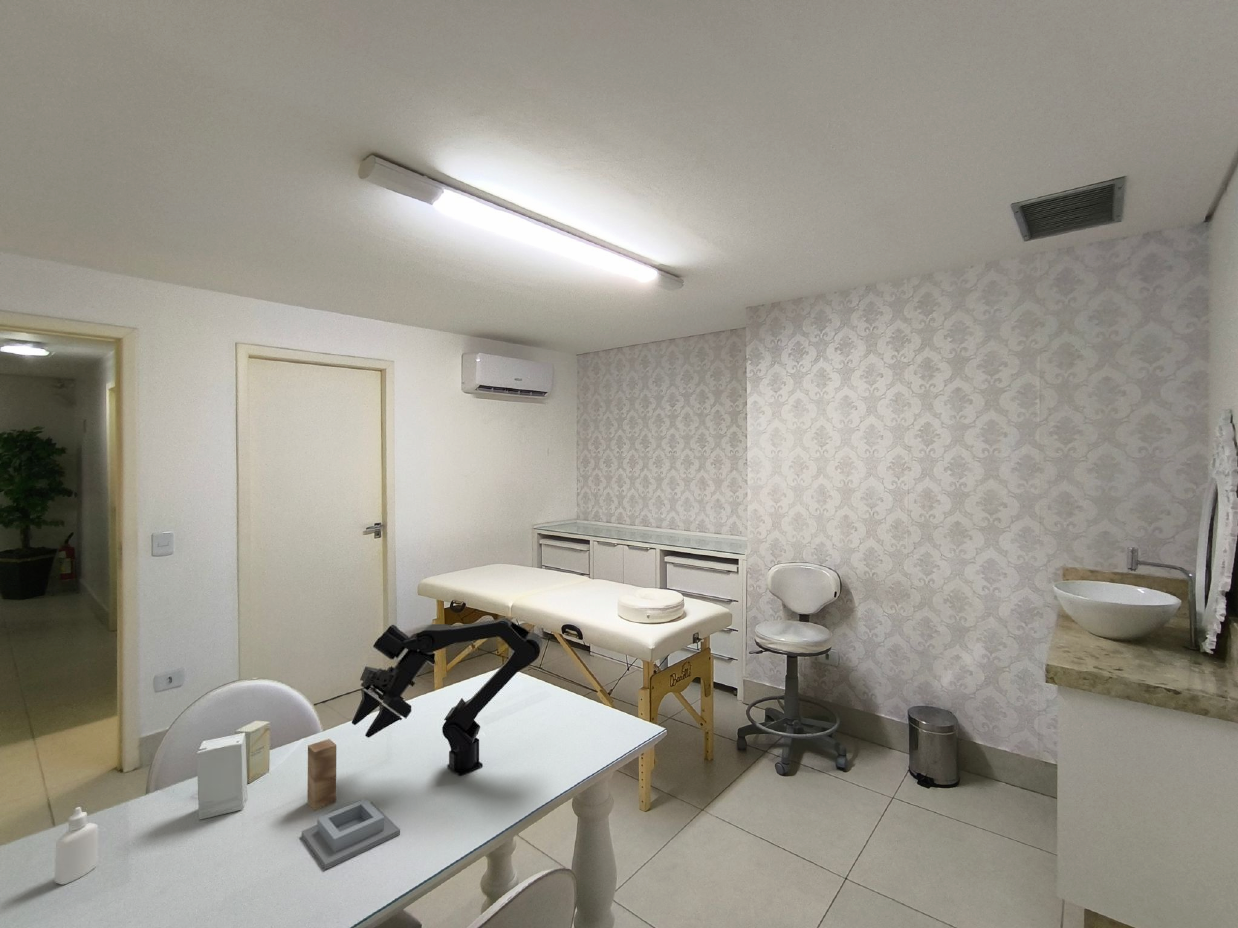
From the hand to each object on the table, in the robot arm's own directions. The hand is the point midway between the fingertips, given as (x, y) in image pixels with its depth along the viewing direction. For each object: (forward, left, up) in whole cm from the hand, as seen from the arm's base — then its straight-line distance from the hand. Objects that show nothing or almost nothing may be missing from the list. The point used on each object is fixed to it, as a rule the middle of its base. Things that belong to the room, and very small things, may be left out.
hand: (359, 730), depth 130 cm
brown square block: (+8, -1, -13) cm, 16 cm away
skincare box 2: (+16, -25, -14) cm, 32 cm away
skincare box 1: (+24, -14, -14) cm, 31 cm away
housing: (+8, +16, -13) cm, 23 cm away
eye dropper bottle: (+47, -9, -14) cm, 50 cm away
